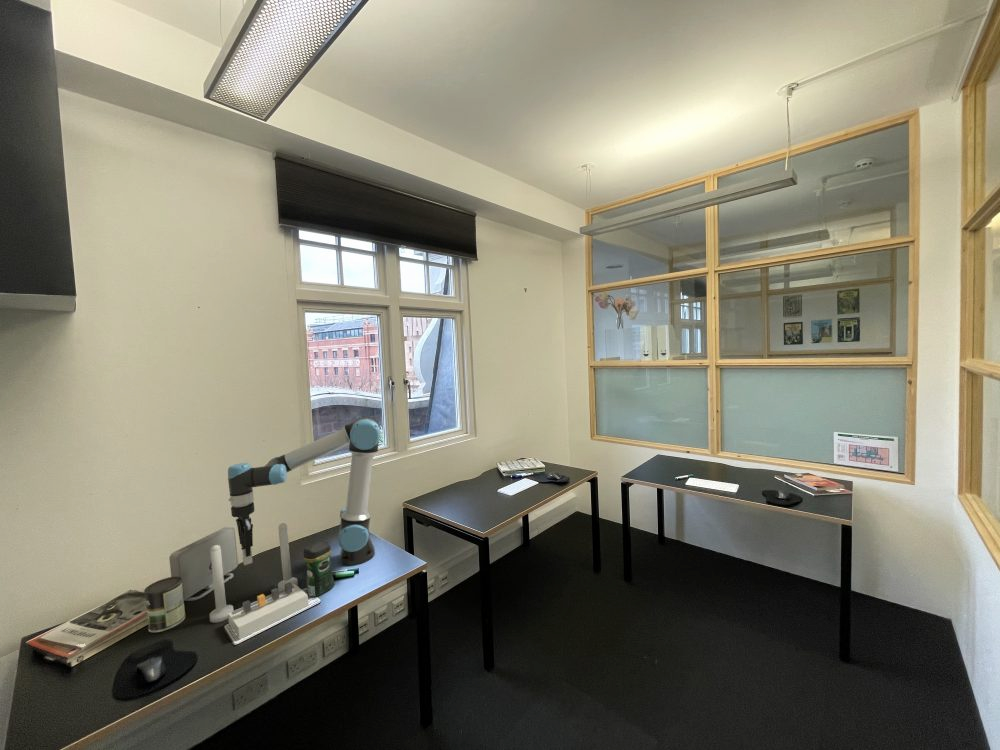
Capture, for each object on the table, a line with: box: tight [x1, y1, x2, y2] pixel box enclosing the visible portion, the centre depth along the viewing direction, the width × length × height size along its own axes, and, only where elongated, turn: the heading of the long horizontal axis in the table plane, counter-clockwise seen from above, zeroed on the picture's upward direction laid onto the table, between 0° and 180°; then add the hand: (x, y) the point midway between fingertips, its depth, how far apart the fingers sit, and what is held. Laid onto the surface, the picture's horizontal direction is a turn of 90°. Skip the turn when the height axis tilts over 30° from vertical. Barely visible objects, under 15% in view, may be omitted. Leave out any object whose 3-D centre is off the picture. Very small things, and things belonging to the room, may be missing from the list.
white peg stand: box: [209, 545, 235, 624], centre depth 143 cm, size 7×7×26 cm
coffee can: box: [143, 576, 186, 634], centre depth 141 cm, size 10×10×14 cm
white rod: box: [277, 522, 299, 591], centre depth 160 cm, size 7×7×26 cm
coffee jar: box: [303, 539, 335, 597], centre depth 156 cm, size 10×8×19 cm
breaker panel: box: [228, 584, 309, 640], centre depth 142 cm, size 22×12×4 cm, turn 138°
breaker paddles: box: [241, 582, 294, 615], centre depth 142 cm, size 17×2×4 cm, turn 138°
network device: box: [168, 526, 239, 602], centre depth 164 cm, size 26×9×20 cm, turn 168°
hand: (248, 563), depth 156 cm, fingers closed
